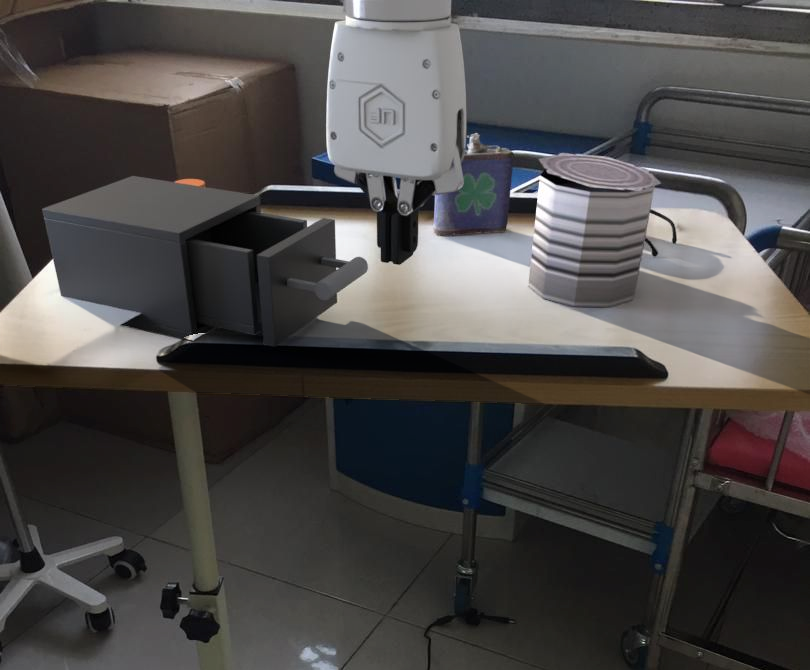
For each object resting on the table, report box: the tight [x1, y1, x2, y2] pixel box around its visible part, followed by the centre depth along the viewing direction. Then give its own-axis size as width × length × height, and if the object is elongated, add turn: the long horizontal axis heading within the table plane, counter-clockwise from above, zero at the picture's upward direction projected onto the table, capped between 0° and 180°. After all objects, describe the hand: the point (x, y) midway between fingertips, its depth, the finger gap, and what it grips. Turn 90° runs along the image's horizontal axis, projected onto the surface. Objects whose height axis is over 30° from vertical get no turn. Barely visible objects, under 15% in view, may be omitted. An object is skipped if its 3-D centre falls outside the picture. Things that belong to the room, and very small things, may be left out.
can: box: [527, 152, 662, 308], centre depth 88 cm, size 11×11×12 cm
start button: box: [174, 178, 206, 187], centre depth 102 cm, size 4×4×2 cm
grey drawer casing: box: [41, 175, 262, 340], centre depth 83 cm, size 15×13×10 cm
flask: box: [432, 132, 515, 237], centre depth 103 cm, size 9×3×11 cm, turn 105°
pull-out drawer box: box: [185, 211, 369, 348], centre depth 80 cm, size 18×11×8 cm, turn 66°
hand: (397, 258), depth 73 cm, fingers closed
